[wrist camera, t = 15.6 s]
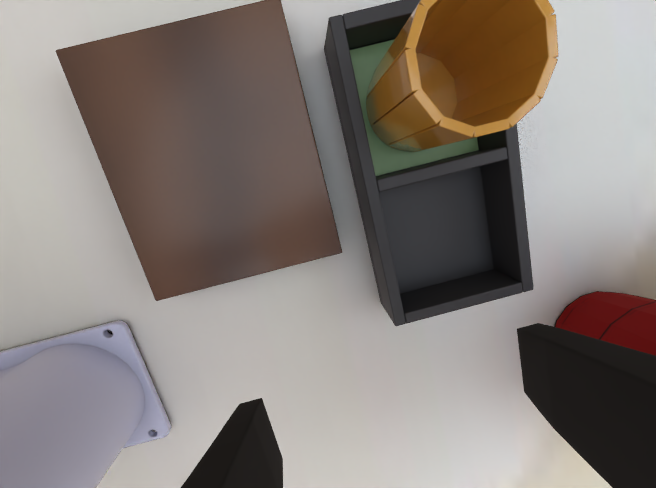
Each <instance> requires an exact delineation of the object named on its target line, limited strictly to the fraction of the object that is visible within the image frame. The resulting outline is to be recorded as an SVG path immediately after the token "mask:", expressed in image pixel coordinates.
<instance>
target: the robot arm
mask: <svg viewBox="0 0 656 488" xmlns="http://www.w3.org/2000/svg"><path fill="white" fill-rule="evenodd" d="M107 330H111V331H112V333H113V335H111V334H109V333H108V332H107ZM517 334H518V343H519V351H520V360H521V368H522V376H523V385H524V392H525V393H526V395H527V396H528V397H529V398H530V400H531V401H532V402H533V404H534V405H535V406H536V407H537V409H538V410H539V411H540V412H541V414H542V415H543V416H544V417H545V418H546V420H547V421H548V422H549V423H550V424H551V426H552V427H553V428H554V429H555V430H556V431H557V432H558V433H559V434H560V435H561V436H562V437H563V438H564V439H565V440H566V441H567V442H568V443H569V444H570V445H571V446H572V447H573V448H574V449H575V451H576V452H577V453H578V454H579V455H580V456H581V457H582V458H583V459H584V460H585V461H586V462H587V463H588V464H589V465H590V466H591V467H592V468H593V469H594V470H595V471H596V472H597V473H598V474H599V475H600V476H601V477H603V478H604V479H605V480H606V481H607V482H608V483H609V484H610V485H611V486H612V487H613V488H656V356H655V355H652V354H648V353H644V352H641V351H637V350H634V349H630V348H627V347H623V346H620V345H616V344H613V343H609V342H606V341H602V340H599V339H596V338H592V337H589V336H585V335H582V334H578V333H575V332H571V331H568V330H564V329H560V328H557V327H553V326H549V325H544V324H539V323H537V324H533V325H530V326H526V327H522V328H519V329H517ZM152 430H155V431H156V432H154V431H152ZM170 430H171V424H170V421H169V419H168V417H167V414H166V412H165V410H164V408H163V405H162V403H161V401H160V398H159V396H158V394H157V391H156V389H155V387H154V384H153V382H152V380H151V377H150V375H149V373H148V370H147V368H146V366H145V363H144V361H143V359H142V357H141V354H140V352H139V350H138V347H137V345H136V343H135V340H134V338H133V336H132V333H131V331H130V329H129V326H128V325H127V324H126V323H125V322H123V321H114V322H111V323H107V324H103V325H99V326H95V327H91V328H88V329H84V330H80V331H76V332H72V333H69V334H65V335H61V336H57V337H53V338H49V339H46V340H42V341H38V342H34V343H30V344H26V345H23V346H19V347H15V348H11V349H7V350H3V351H0V488H96V487H97V485H98V484H99V483H100V481H101V480H102V478H103V477H104V475H105V474H106V472H107V471H108V469H109V468H110V466H111V465H112V463H113V462H114V460H115V459H116V457H117V456H118V454H119V453H120V451H121V450H122V448H126V447H129V446H133V445H137V444H141V443H144V442H148V441H152V440H155V439H159V438H163V437H165V436H167V435H168V434H169V432H170ZM181 488H283V458H282V455H281V453H280V450H279V447H278V444H277V441H276V438H275V435H274V432H273V429H272V426H271V424H270V421H269V418H268V415H267V412H266V409H265V406H264V403H263V400H262V398H260V399H256V400H252V401H249V402H245V403H241V404H239V406H238V407H237V408H236V410H235V411H234V412H233V414H232V415H231V417H230V418H229V420H228V421H227V423H226V424H225V426H224V427H223V428H222V430H221V431H220V433H219V434H218V436H217V437H216V439H215V440H214V442H213V443H212V445H211V446H210V447H209V449H208V450H207V452H206V453H205V455H204V456H203V457H202V459H201V460H200V462H199V463H198V465H197V466H196V467H195V469H194V470H193V472H192V473H191V474H190V476H189V477H188V479H187V480H186V481H185V483H184V484H183V485H182V487H181Z"/></svg>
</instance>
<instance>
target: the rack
mask: <svg viewBox="0 0 656 488" xmlns="http://www.w3.org/2000/svg"><path fill="white" fill-rule="evenodd" d="M420 1H421V0H400V1H396V2H392V3H387V4H383V5H379V6H375V7H371V8H367V9H363V10H358V11H354V12H350V13H346V14H343V16H342V15H338V16H334V17H330V18H329V21H328V27H327V34H326V40H325V46H324V51H325V55H326V59H327V64H328V68H329V73H330V77H331V82H332V86H333V91H334V95H335V100H336V104H337V109H338V113H339V118H340V122H341V126H342V131H343V135H344V140H345V144H346V149H347V153H348V158H349V162H350V167H351V171H352V176H353V180H354V185H355V189H356V193H357V198H358V202H359V207H360V211H361V216H362V220H363V225H364V229H365V234H366V238H367V243H368V247H369V252H370V256H371V260H372V265H373V269H374V274H375V278H376V283H377V287H378V292H379V296H380V301H381V304H382V305H383V307H384V308H385V310H386V312H387V313H388V315H389V316H390V318H391V320H392V321H393V323H394V324H395V326H399V325H403V324H406V323H410V322H414V321H417V320H421V319H425V318H429V317H432V316H436V315H440V314H444V313H447V312H451V311H455V310H459V309H462V308H466V307H470V306H474V305H477V304H481V303H485V302H489V301H492V300H496V299H500V298H503V297H507V296H511V295H515V294H518V293H522V292H526V291H530V290H533V280H532V270H531V260H530V251H529V241H528V231H527V221H526V211H525V202H524V192H523V182H522V172H521V163H520V153H519V143H518V133H517V123H516V124H515V125H514V126H513V127H511V128H509V129H507V130H503V131H499V132H495V133H491V134H487V135H483V136H479V137H475V138H471V139H467V140H463V141H459V142H454V143H450V144H446V145H442V146H438V147H434V148H430V149H426V150H421V151H417V152H405V151H400V150H396V149H394V148H392V147H390V146H388V145H386V144H385V143H384V142H383V141H381V140H380V138H379V137H378V136H377V135H376V134H375V132H374V131H373V129H372V127H371V125H370V123H369V120H368V116H367V111H366V95H367V90H368V86H369V83H370V81H371V79H372V76H373V73H374V71H375V69H376V68H377V66H378V65H379V63H380V62H381V60H382V59H383V57H384V55H385V54H386V52H387V51H388V49H389V48H390V46H391V45H392V43H393V42H394V40H395V39H396V37H397V36H398V34H399V33H400V31H401V29H402V28H403V26H404V25H405V23H406V22H407V20H408V19H409V17H410V16H411V14H412V13H413V11H414V10H415V8H416V7H417V5H418V3H419V2H420Z"/></svg>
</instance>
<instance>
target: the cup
mask: <svg viewBox="0 0 656 488" xmlns="http://www.w3.org/2000/svg"><path fill="white" fill-rule="evenodd" d="M553 13H554V9H553V8H552V6H551V4H550V3H549V1H548V0H421V1H420V2H419V3H418V5H417V7H416V8H415V10H414V11H413V13H412V14H411V16H410V17H409V19H408V20H407V22H406V23H405V25H404V26H403V28H402V29H401V31H400V33H399V34H398V36H397V37H396V39H395V40H394V42H393V43H392V45H391V46H390V48H389V49H388V51H387V52H386V54H385V55H384V57H383V59H382V60H381V62H380V63H379V65H378V66H377V68H376V69H375V71H374V73H373V76H372V79H371V81H370V83H369V86H368V90H367V95H366V111H367V116H368V120H369V123H370V125H371V127H372V129H373V131H374V132H375V134H376V135H377V136H378V137H379V138H380V140H381V141H383V142H384V143H385V144H386V145H388V146H390V147H392V148H394V149H396V150H400V151H405V152H417V151H421V150H426V149H430V148H434V147H438V146H442V145H446V144H450V143H454V142H459V141H463V140H467V139H471V138H475V137H479V136H483V135H487V134H491V133H495V132H499V131H503V130H507V129H509V128H511V127H513V126H514V125H515V124H516V123H517V122H518V121H520V120H521V119H522V118H523V117H524V116H525V115H526V114H527V113H528V112H529V111H530V110H531V109H532V108H534V107H535V106H536V105H537V104H538V103H539V102H540V99H541V98H543V96H544V93H545V91H546V88H547V86H548V83H549V80H550V78H551V75H552V73H553V70H554V68H555V65H556V63H557V60H558V59H556V57H558V43H557V27H556V15H555V14H553ZM552 14H553V15H552Z"/></svg>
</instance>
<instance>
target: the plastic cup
mask: <svg viewBox="0 0 656 488" xmlns="http://www.w3.org/2000/svg"><path fill="white" fill-rule="evenodd" d="M555 327H557V328H560V329H564V330H568V331H571V332H575V333H578V334H582V335H585V336H589V337H592V338H596V339H599V340H602V341H606V342H609V343H613V344H616V345H620V346H623V347H627V348H630V349H634V350H637V351H641V352H644V353H648V354H652V355H655V356H656V300H653V299H648V298H643V297H639V296H634V295H629V294H624V293H613V292H599V291H597V292H593V293H590V294H587V295H584V296H581V297H579V298H578V299H577V300H575V301H574V302H573V303H571V304H570V305H568V306H567V307H566V309H565V310H564V311H563V313H562V314H561V316H560V317H559V318H558V320H557V322H556V326H555Z"/></svg>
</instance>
